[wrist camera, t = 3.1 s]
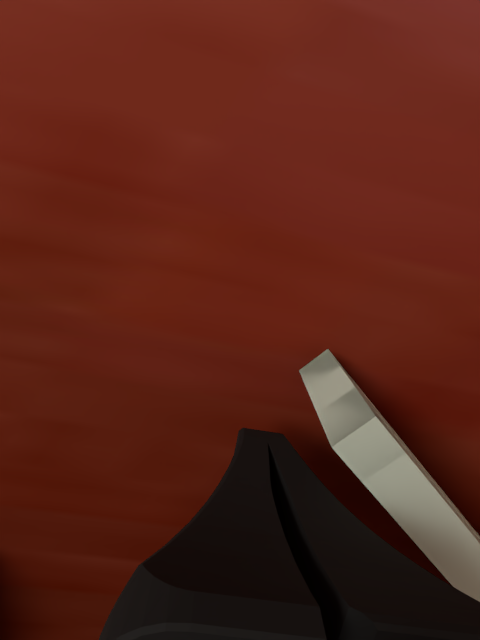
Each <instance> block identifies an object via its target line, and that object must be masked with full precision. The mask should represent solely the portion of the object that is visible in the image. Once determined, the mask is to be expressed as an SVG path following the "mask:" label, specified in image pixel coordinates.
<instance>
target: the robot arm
mask: <svg viewBox="0 0 480 640" xmlns="http://www.w3.org/2000/svg"><path fill="white" fill-rule="evenodd" d="M99 640H480V602H479V601H477V600H475V599H474V598H472V597H470V596H468V595H466V594H465V593H463V592H461V591H459V590H458V589H456V588H454V587H452V586H451V585H449V584H447V583H445V582H444V581H442V580H440V579H439V578H437V577H436V576H434V575H433V574H431V573H430V572H428V571H427V570H425V569H423V568H422V567H420V566H419V565H417V564H416V563H414V562H413V561H411V560H410V559H409V558H407V557H406V556H404V555H403V554H401V553H400V552H399V551H397V550H396V549H395V548H393V547H392V546H391V545H389V544H388V543H387V542H385V541H384V540H383V539H382V538H380V537H379V536H378V535H376V534H375V533H374V532H373V531H371V530H370V529H369V528H368V527H367V526H365V525H364V524H363V523H362V522H361V521H360V520H359V519H358V518H357V517H355V516H354V515H353V514H352V513H351V512H350V511H349V510H348V509H347V508H346V507H345V506H344V505H342V504H341V503H340V502H339V501H338V500H337V499H336V497H335V496H334V495H333V494H332V493H331V492H330V491H329V490H328V489H327V488H326V487H325V486H324V485H323V483H322V482H321V481H320V480H319V479H318V478H317V477H316V475H315V474H314V473H313V472H312V471H311V469H310V468H309V467H308V466H307V465H306V463H305V462H304V461H303V460H302V458H301V457H300V456H299V454H298V453H297V452H296V450H295V449H294V448H293V447H292V445H291V444H290V443H289V441H288V440H287V439H286V437H285V436H284V435H283V434H280V433H273V432H267V431H260V430H254V429H247V428H242V429H241V430H239V433H238V438H237V443H236V448H235V453H234V456H233V459H232V461H231V463H230V465H229V467H228V469H227V471H226V473H225V474H224V476H223V478H222V480H221V481H220V483H219V485H218V486H217V488H216V489H215V491H214V492H213V494H212V495H211V496H210V498H209V499H208V501H207V502H206V503H205V504H204V506H203V507H202V508H201V509H200V510H199V512H198V513H197V514H196V515H195V516H194V517H193V519H192V520H191V521H190V522H189V523H188V524H187V525H186V526H185V527H184V528H183V529H182V530H181V531H180V532H179V533H178V534H177V535H175V536H174V537H173V538H172V539H171V540H170V541H169V542H168V543H167V544H166V545H165V546H163V547H162V548H161V549H159V550H158V551H157V552H156V553H154V554H153V555H152V556H150V557H149V558H148V559H147V560H145V561H144V562H143V563H141V564H140V565H139V566H138V567H137V569H136V570H135V572H134V573H133V575H132V577H131V578H130V580H129V581H128V583H127V585H126V586H125V588H124V590H123V591H122V593H121V595H120V596H119V598H118V600H117V602H116V603H115V605H114V607H113V609H112V611H111V613H110V615H109V617H108V619H107V621H106V623H105V626H104V628H103V631H102V633H101V635H100V638H99Z"/></svg>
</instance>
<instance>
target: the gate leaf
mask: <svg viewBox="0 0 480 640" xmlns="http://www.w3.org/2000/svg"><path fill="white" fill-rule="evenodd" d="M299 372H300V374H301V376H302V379H303V381H304V384H305V386H306V388H307V391H308V393H309V395H310V398H311V400H312V402H313V405H314V407H315V410H316V412H317V414H318V417H319V419H320V421H321V424H322V426H323V428H324V431H325V433H326V436H327V438H328V440H329V443H330V445H331V447H332V448H333V450H334V451H335V452H336V453H337V454H338V455H339V457H340V458H341V459H342V460H343V461H344V462H345V463H346V465H347V466H348V467H349V468H350V469H351V470H352V471H353V473H354V474H355V475H356V476H357V477H358V478H359V479H360V481H361V482H362V483H363V484H364V485H365V486H366V487H367V489H368V490H369V491H370V492H371V493H372V494H373V495H374V497H375V498H376V499H377V500H378V501H379V502H380V503H381V505H382V506H383V507H384V508H385V509H386V510H387V512H388V513H389V514H390V515H391V516H392V517H393V518H394V520H395V521H396V522H397V523H398V524H399V525H400V526H401V528H402V529H403V530H404V531H405V532H406V533H407V534H408V536H409V537H410V538H411V539H412V540H413V541H414V542H415V544H416V545H417V546H418V547H419V548H420V549H421V550H422V552H423V553H424V554H425V555H426V556H427V557H428V559H429V560H430V561H431V562H432V563H433V564H434V565H435V567H436V568H437V569H438V570H439V571H440V572H441V573H442V575H443V576H444V577H445V578H446V579H447V580H448V581H449V583H450V584H451V585H452V586H453V587H454V588H456V589H458V590H459V591H461V592H463V593H465V594H466V595H468V596H470V597H472V598H474V599H475V600H477V601H479V602H480V536H479V535H478V533H477V532H476V531H475V530H474V528H473V527H472V526H471V525H470V524H469V522H468V521H467V520H466V519H465V517H464V516H463V515H462V514H461V512H460V511H459V510H458V509H457V507H456V506H455V505H454V504H453V503H452V501H451V500H450V499H449V498H448V496H447V495H446V494H445V493H444V491H443V490H442V489H441V488H440V486H439V485H438V484H437V483H436V482H435V480H434V479H433V478H432V477H431V475H430V474H429V473H428V472H427V470H426V469H425V468H424V467H423V465H422V464H421V463H420V462H419V461H418V459H417V458H416V457H415V456H414V454H413V453H412V452H411V451H410V449H409V448H408V447H407V446H406V444H405V443H404V442H403V441H402V440H401V438H400V437H399V436H398V435H397V433H396V432H395V431H394V430H393V428H392V427H391V426H390V425H389V423H388V422H387V421H386V420H385V418H384V417H383V416H382V415H381V414H380V412H379V411H378V410H377V409H376V407H375V406H374V405H373V404H372V402H371V401H370V400H369V399H368V397H367V396H366V395H365V394H364V393H363V391H362V390H361V389H360V388H359V386H358V385H357V384H356V383H355V381H354V380H353V379H352V378H351V376H350V375H349V374H348V373H347V372H346V370H345V369H344V368H343V367H342V365H341V364H340V363H339V362H338V360H337V359H336V358H335V357H334V355H333V354H332V353H331V352H330V351H329V349H327V350H326V351H324V352H323V353H322V354H320V355H319V356H318V357H316V358H315V359H314V360H312V361H311V362H310V363H308V364H307V365H306V366H304V367H303V368H302V369H300V370H299Z"/></svg>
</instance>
